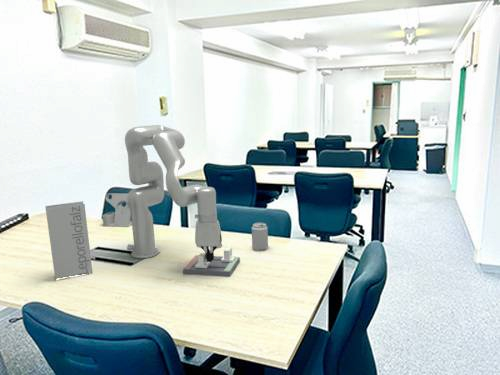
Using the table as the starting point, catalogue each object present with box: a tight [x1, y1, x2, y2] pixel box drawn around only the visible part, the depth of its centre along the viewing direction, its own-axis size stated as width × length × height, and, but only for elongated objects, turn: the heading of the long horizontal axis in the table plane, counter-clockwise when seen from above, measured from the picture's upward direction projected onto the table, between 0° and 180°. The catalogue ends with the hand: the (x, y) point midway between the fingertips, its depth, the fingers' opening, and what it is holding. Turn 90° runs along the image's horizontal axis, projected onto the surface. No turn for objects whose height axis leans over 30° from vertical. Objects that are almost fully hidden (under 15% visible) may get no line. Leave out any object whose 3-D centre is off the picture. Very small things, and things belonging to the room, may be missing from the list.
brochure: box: [45, 200, 94, 279], centre depth 171 cm, size 14×6×30 cm, turn 117°
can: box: [251, 222, 269, 252], centre depth 196 cm, size 8×8×12 cm
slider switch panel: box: [182, 254, 241, 277], centre depth 177 cm, size 20×16×2 cm
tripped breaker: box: [195, 252, 210, 268], centre depth 173 cm, size 5×5×5 cm
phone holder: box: [101, 192, 132, 228], centre depth 246 cm, size 17×10×18 cm, turn 78°
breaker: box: [221, 246, 236, 262], centre depth 178 cm, size 5×5×5 cm
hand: (210, 260), depth 172 cm, fingers closed
